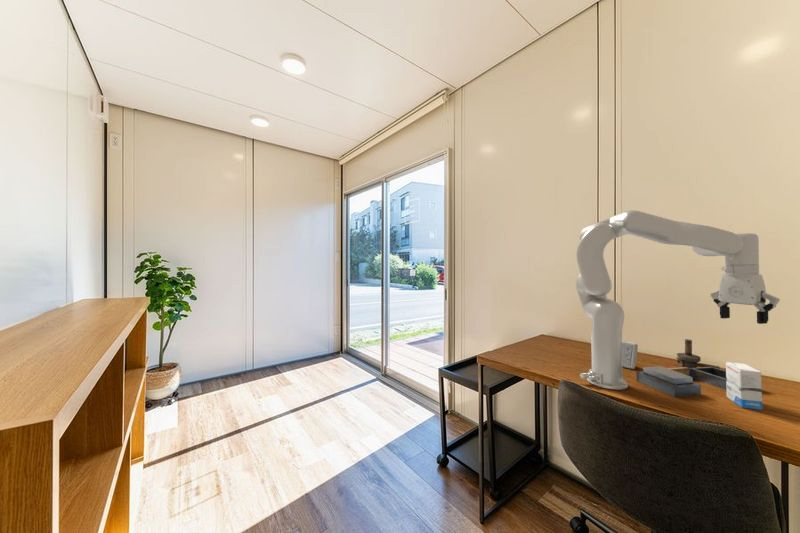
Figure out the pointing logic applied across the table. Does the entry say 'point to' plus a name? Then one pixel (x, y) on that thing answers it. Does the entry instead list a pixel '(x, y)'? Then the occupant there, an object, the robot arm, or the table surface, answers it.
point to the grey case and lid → (681, 379)
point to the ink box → (744, 385)
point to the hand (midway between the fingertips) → (742, 320)
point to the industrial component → (688, 356)
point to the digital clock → (629, 354)
